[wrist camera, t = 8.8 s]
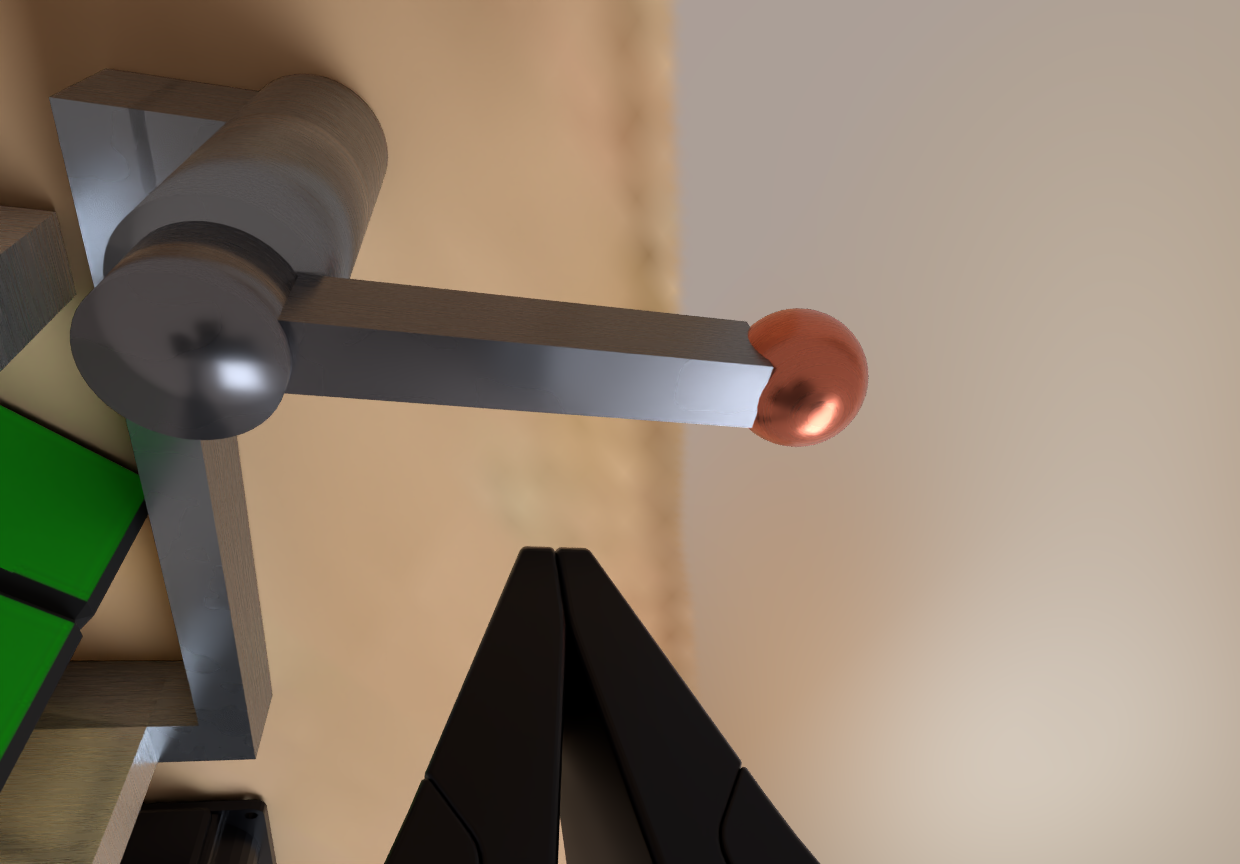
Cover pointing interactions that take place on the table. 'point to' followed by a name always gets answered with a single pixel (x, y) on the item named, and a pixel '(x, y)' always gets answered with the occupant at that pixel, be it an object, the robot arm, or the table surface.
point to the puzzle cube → (52, 562)
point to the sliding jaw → (30, 276)
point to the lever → (433, 348)
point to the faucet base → (182, 468)
